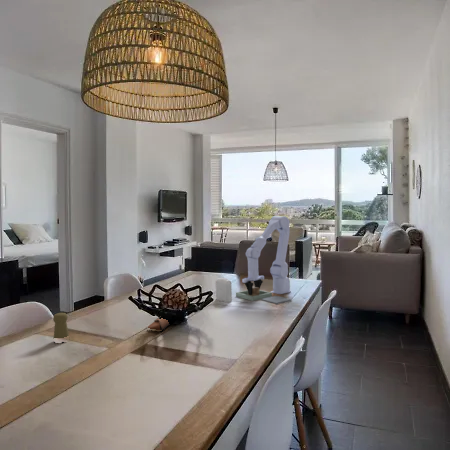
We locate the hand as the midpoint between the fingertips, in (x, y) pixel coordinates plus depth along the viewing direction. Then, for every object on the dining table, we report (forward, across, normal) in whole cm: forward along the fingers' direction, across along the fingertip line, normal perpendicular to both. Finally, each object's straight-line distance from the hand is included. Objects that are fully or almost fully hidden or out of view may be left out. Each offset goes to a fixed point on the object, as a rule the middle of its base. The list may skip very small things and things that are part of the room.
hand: (253, 293), depth 218 cm
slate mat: (+2, +3, -14) cm, 15 cm away
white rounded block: (+2, -17, +5) cm, 18 cm away
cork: (+2, -102, -2) cm, 102 cm away
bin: (+2, 0, 0) cm, 2 cm away
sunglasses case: (+2, -63, -11) cm, 64 cm away
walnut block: (+1, 0, 0) cm, 1 cm away
